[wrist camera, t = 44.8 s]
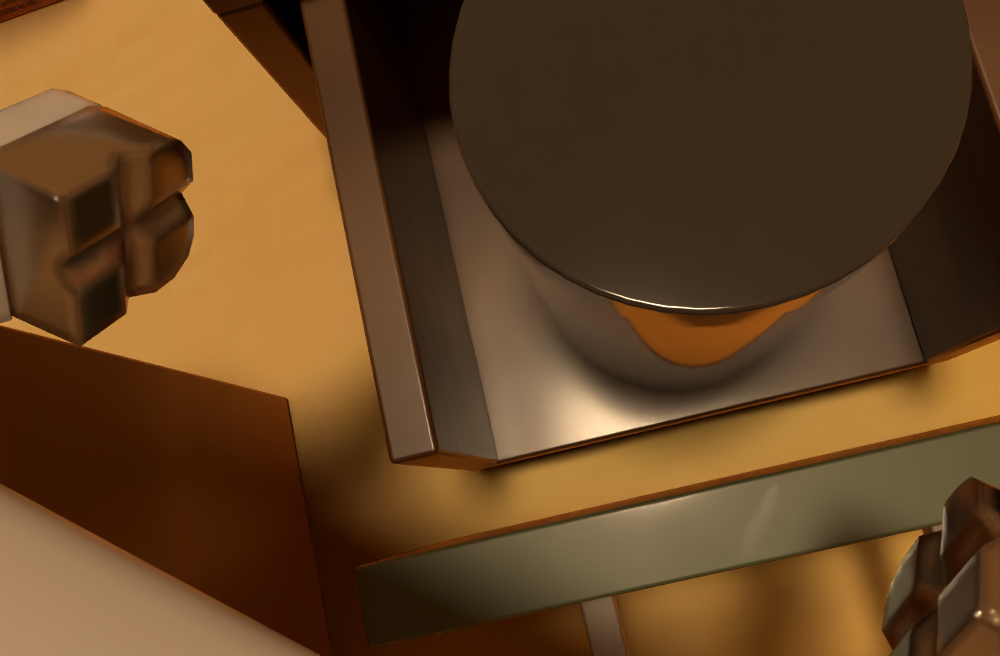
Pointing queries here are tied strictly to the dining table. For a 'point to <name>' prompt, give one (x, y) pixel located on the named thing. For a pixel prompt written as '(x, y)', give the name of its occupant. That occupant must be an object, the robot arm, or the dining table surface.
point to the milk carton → (20, 7)
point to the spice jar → (703, 160)
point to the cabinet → (276, 46)
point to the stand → (166, 473)
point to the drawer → (597, 397)
